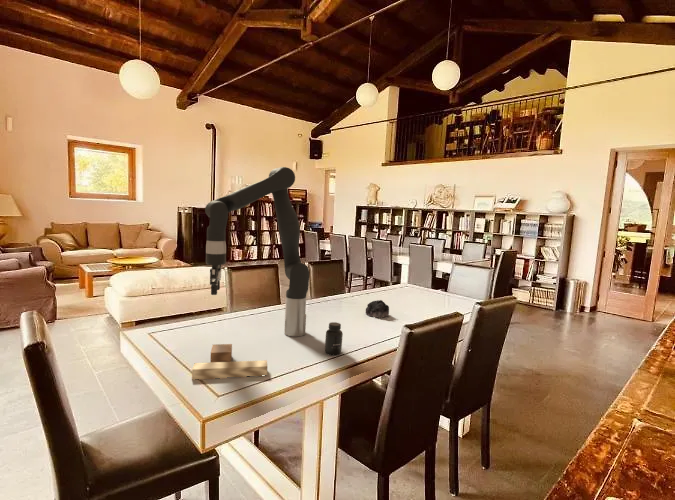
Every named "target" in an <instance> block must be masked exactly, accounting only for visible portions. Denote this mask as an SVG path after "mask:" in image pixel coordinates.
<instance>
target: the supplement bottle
mask: <svg viewBox="0 0 675 500" xmlns="http://www.w3.org/2000/svg"><path fill="white" fill-rule="evenodd" d="M341 327H342V324H341V323H340V322H333V321H332V322H329V323H328V329H327V330H326V331H325V338H324V339H325V341H324V353H325V354H327V355H328V354H329V356H339V355H340V354H342V348H343V331H342V330H341V329H342V328H341Z"/></svg>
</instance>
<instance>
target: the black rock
mask: <svg viewBox="0 0 675 500" xmlns="http://www.w3.org/2000/svg"><path fill="white" fill-rule="evenodd" d="M366 306H367V307H366V308H365V314H366V315H367V316H368V315H369V316H368V317H371V316H373V317H372V318H374V317H383V318H386V316H387V317H389V315H390V306H389V305H387V304H386V303H385V302H384V301H383V300H382V299H379V300H378V299H377V300H373V301H370V302H369V303H367V305H366Z"/></svg>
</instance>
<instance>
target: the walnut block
mask: <svg viewBox="0 0 675 500" xmlns="http://www.w3.org/2000/svg"><path fill="white" fill-rule="evenodd" d="M232 356H233V344H232V343H223V344H221V343H219V344H212V346H211V350H210V362H209V363H211V362H232V359H233V358H232Z"/></svg>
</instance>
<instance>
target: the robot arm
mask: <svg viewBox="0 0 675 500" xmlns="http://www.w3.org/2000/svg"><path fill="white" fill-rule="evenodd" d="M295 181H296V174H295V172H294V171H293V170H292V169H291V168H290V167H286V166H281V167H276V168H273V169H271V171H270V172H269V174H268V177H266V178H264V179H263V180H260V181H257V182H255V183H251V184H249V185H245V186H244V187H243V186H242V188H239V189H237V190H235V191H232V192H231V193H229V194H227V195H225V196H222V197H219V198H216V199H214V200H212V201H210V202H208V203H207V204H206V205H205V209H204V212H205V214H206V216H207V217H208V218H209V225H208V226H207V227H206V244H205V264H206V265H209V266H211V268H210V269H209V285H210V295H212V296H216V295H218V291H220V289H221V286H220V285H221V278H222V266H223V265H225V264H226V263H227V244H226V230H227V229H226V228H227V223H228V219H229V213H231V212H232V211H238V210H240V209H243V208H245V207H246V206H248V205H250V204H253V203H254V202H256V201H258V200H260V199H261V198H263V197H265V196H268V195H271V194H272V198H273V202H274V208H275V214H276V220H277V221H276V222H277V228H278V232H279V234H278V235H279V236H280V237H279V238H280V243H281V247H282V253H283V262H284V263H283V265H284V267H283V268H284V274H285V276H286V278H287V279H288V280H289V286H288V289H287V290H286V292H285V308H284V310H285V311H284V312H285V313H284V335H285V336H288V337H301V336H302V337H303V336H306V330H307V329H306V328H307V327H306V326H307V313H306V309H307V304H306V303H307V294H308V292H309V284H310V269H309V267H308V265H306V264H305V263H303V262H302V260H301V257H300V251H299V250H300V249H299V245H300V240H301V239H300V238H301V229H300V228H301V227H300V221H299V219H298V215H297V213H296V210H295V208H294V206H293V205H292V202H291V198H290V197H289V196H290V195H289V188H291V187H292V186H293V185H294V184H295Z"/></svg>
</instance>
